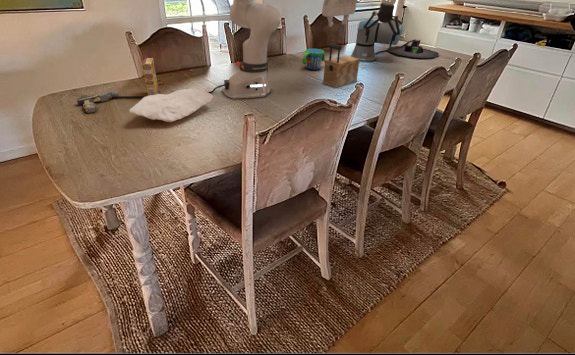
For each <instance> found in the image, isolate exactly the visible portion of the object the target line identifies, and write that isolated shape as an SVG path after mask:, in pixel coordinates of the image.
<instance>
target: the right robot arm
mask: <svg viewBox="0 0 575 355" xmlns="http://www.w3.org/2000/svg"><path fill="white" fill-rule="evenodd" d="M380 2H381V3H380V5H379V10H378V12H377V11H376V10H374V11H372V13H371V16H370V17H369V18H368V19H364V20H361V21H359V22H358V26H357V33H356V40H355V46H354V48H353V50H352V53H351V56H350V57H354V58H357V59H360V60H359V62H373V61H375V60H376V55H378V54H380V53H385V52H386V53H387V52H389V51H388V50H387V49H383V50H379V51H377V52H375V51H376V50H375V44H381V45H388V48H390V47H392V46H397V45H398V43H399V42H400V39H401V37H402V34H403V30H404V25H403V24H402V20H401V16H402V12H403V9H404V8H403V7H404V3H405V0H381V1H380ZM374 17H377V19H374ZM413 40H414V39H412V40H409V41H406V43H404V44H402V45H400V47H397V48H394V49H398V48H401V47H405V45H409V44H411V43H412V42H413ZM389 50H393V49H389Z"/></svg>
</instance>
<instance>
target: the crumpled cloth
mask: <svg viewBox="0 0 575 355" xmlns="http://www.w3.org/2000/svg"><path fill="white" fill-rule="evenodd" d="M208 92H209V91H206V90H203V89H201V88H187V89H186V88H185V89H184V88H183V89H177V90H175V91H173V92H171V93H167V94H163V93H158V94H156V95H150V96H148V95H145V96H146V97H144V98H140V100H139V101H138V102H137V103H136V104H134V105H133V106H132V107H131V108H129V114H130V115H135V116H140V117H145V118H146V119H149V120H152V121H155V120H158V121H163V122H166V123H174V122H176V121H178V120H181V119H183V118H185V117H188V116H190V115H192V114H193V113H195V112H196V111H197V110H199V109H200V108H202V107H204V106H206V105H207V104H210V102H211V101H212V100H213V99H214V98H213V97H214V96H213V94H212V93H208Z"/></svg>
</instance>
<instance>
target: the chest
mask: <svg viewBox="0 0 575 355" xmlns="http://www.w3.org/2000/svg"><path fill="white" fill-rule="evenodd" d="M359 67H360V61H359V62H355V63H351V64H347V65H343V66H339V67H337V66H334V65H330V64H327V63H324V68H323V79H322V84H326V85H329V86H331V87H334V88H339V87H342V86H346V85H349V84H352V83H356V82H357V80H358V73H359Z"/></svg>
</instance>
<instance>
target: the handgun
mask: <svg viewBox="0 0 575 355" xmlns="http://www.w3.org/2000/svg"><path fill="white" fill-rule="evenodd" d="M117 96H120V94H119V92H118V91H117V90H116V89H112V90H108V91H105V92H104V91H103V92H101V93H96V94H94V95H86V94H85V95H84V94H83V95H81V96H80V97H77V98H76V101H77V104H78V105H82V108H83V109H84V110H85V113H87V114H91V113H95V112H96V104H95V103H98V102H106V101H109V100H111V99H113V98H112V97H117Z"/></svg>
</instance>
